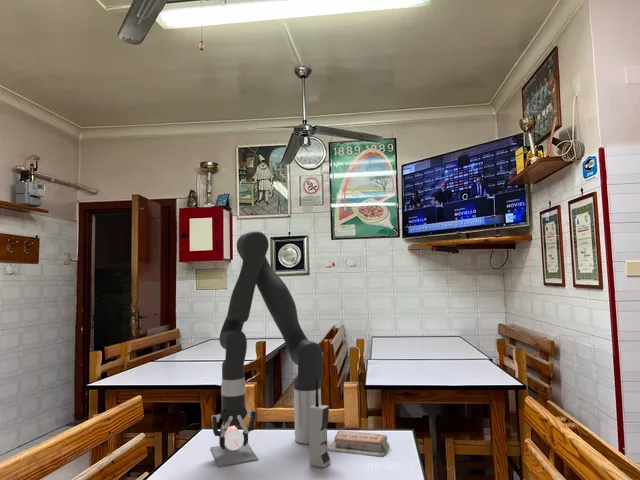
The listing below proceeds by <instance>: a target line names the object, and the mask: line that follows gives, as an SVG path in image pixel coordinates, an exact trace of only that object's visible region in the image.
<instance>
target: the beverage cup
mask: <svg viewBox="0 0 640 480" xmlns="http://www.w3.org/2000/svg"><path fill="white" fill-rule="evenodd" d="M224 437H225V445H226V447H227V448H228V449H229V450H237V449H239V448H240V447H241V446H242V444H243V442H244V436H243V431H240V430H239V429H238V428H237V427H236V425H234V426H231V427H228V429H227V431H226V433H225V435H224Z"/></svg>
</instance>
